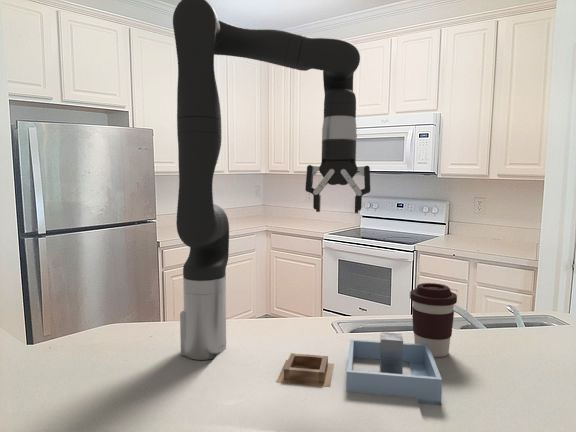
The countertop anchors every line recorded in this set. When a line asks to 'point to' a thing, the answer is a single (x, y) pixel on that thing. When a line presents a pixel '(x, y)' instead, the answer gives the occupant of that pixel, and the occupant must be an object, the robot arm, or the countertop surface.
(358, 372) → the bin
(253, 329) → the countertop surface
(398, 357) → the grey rectangular peg
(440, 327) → the coffee cup
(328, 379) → the socket block
